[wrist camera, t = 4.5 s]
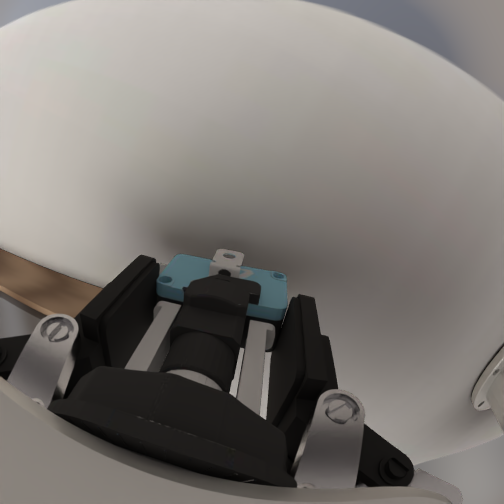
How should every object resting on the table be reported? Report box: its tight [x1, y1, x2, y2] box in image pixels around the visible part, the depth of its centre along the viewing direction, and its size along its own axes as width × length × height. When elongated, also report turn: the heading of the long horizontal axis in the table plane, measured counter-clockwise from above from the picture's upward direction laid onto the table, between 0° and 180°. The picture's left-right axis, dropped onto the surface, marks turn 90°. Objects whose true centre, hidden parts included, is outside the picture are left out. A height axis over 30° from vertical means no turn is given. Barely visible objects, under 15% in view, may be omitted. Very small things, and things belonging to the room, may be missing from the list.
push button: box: [47, 249, 297, 488], centre depth 7 cm, size 7×5×10 cm
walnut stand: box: [0, 249, 102, 338], centre depth 16 cm, size 16×16×4 cm
